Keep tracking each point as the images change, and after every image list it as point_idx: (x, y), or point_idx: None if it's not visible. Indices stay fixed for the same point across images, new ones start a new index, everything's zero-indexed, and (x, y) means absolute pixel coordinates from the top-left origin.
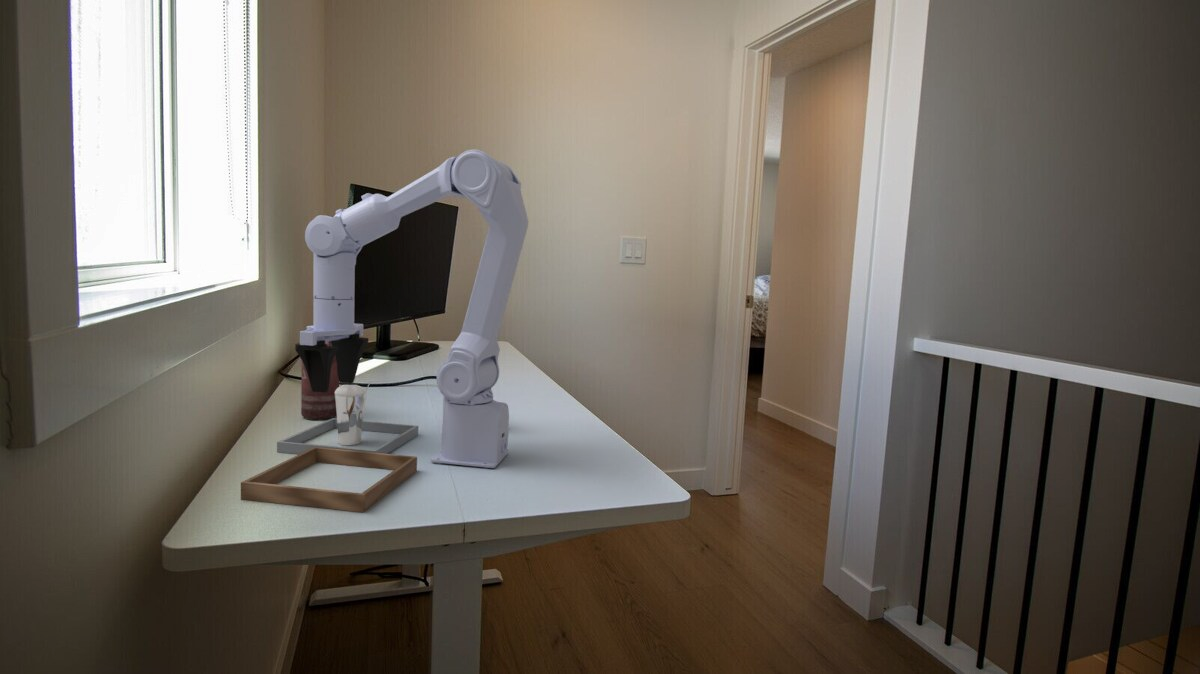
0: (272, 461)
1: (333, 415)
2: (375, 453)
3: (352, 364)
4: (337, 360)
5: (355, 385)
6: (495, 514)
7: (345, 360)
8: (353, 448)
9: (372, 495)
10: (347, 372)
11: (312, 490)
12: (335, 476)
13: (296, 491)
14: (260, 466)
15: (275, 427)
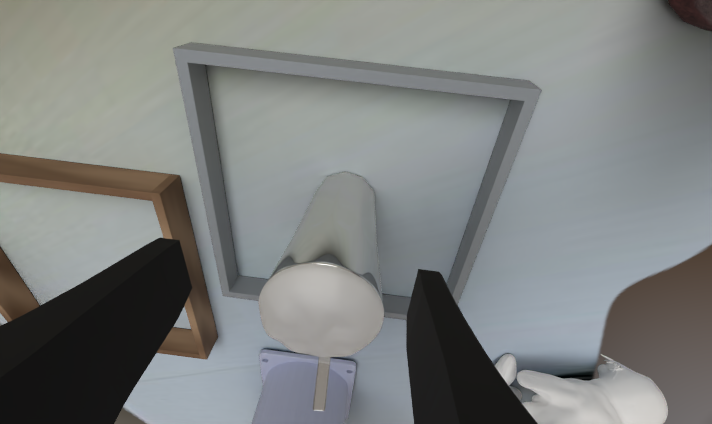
0: (121, 77)
1: (692, 24)
2: (188, 308)
3: (418, 415)
4: (444, 378)
5: (342, 342)
6: (130, 404)
7: (432, 415)
8: (221, 257)
9: None
10: (416, 348)
11: None
12: (125, 244)
13: None
14: (73, 68)
15: None
